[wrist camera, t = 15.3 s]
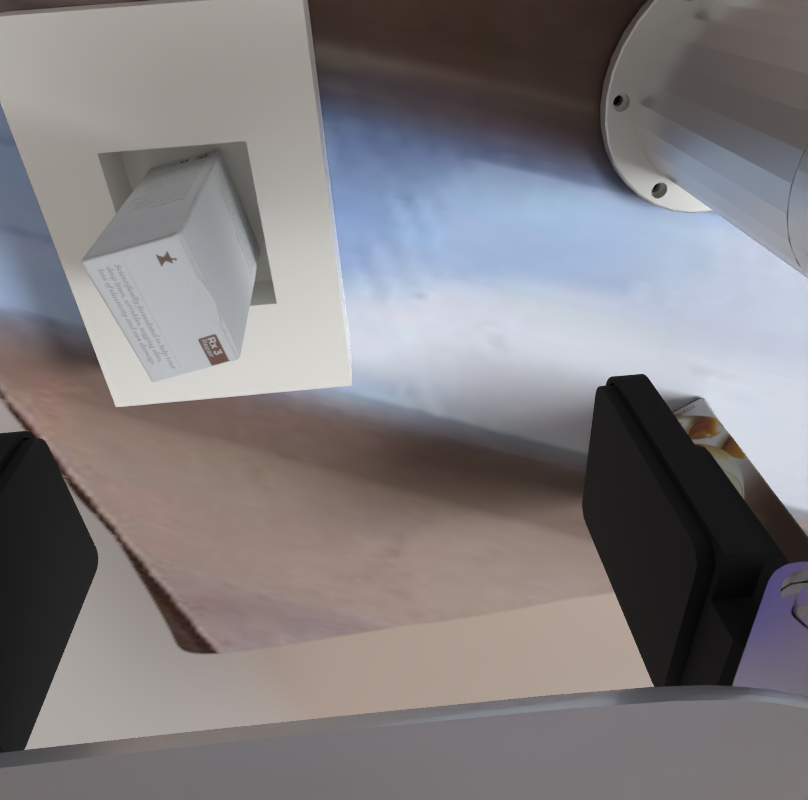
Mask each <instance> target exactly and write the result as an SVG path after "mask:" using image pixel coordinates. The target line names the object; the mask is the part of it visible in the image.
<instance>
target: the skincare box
mask: <svg viewBox="0 0 808 800" xmlns="http://www.w3.org/2000/svg"><path fill="white" fill-rule="evenodd" d="M259 255H260V247H259V245H258V242H257V240H256V237H255V235H254V232H253V230H252V227H251V225H250V222H249V220H248V217H247V215H246V212H245V210H244V207H243V205H242V202H241V200H240V197H239V195H238V192H237V190H236V187H235V185H234V182H233V180H232V177H231V175H230V172H229V170H228V167H227V165H226V162H225V159H224V157H223V155H222V153H221V151H220V150H213V151H210V152H206V153H203V154H199V155H195V156H192V157H189V158H185V159H182V160H178V161H175V162H171V163H168V164H165V165H161V166H158V167H155V168H152V169H149V171H148V172H147V173H146V175H145V176H144V177H143V179H142V180H141V181H140V183H139V184H138V185H137V186H136V188H135V189H134V191H133V192H132V193H131V195H130V196H129V197H128V198H127V200H126V201H125V202H124V204H123V205H122V207H121V208H120V209H119V211H118V212H117V213H116V215H115V216H114V217H113V218H112V220H111V221H110V222H109V224H108V225H107V226H106V228H105V229H104V231H103V232H102V233H101V235H100V236H99V237H98V239H97V240H96V242H95V243H94V244H93V245H92V247H91V248H90V249H89V250H88V252H87V253H86V254H85V256H84V257H83V259H82V261H81V264H82V265H83V267H84V269H85V270H86V272H87V274H88V275H89V277H90V279H91V280H92V282H93V284H94V285H95V287H96V288H97V290H98V292H99V293H100V295H101V297H102V298H103V300H104V302H105V303H106V305H107V307H108V308H109V310H110V312H111V313H112V315H113V317H114V318H115V320H116V322H117V323H118V325H119V327H120V328H121V330H122V332H123V333H124V335H125V337H126V338H127V340H128V342H129V343H130V345H131V347H132V348H133V350H134V352H135V354H136V355H137V357H138V359H139V360H140V362H141V364H142V365H143V367H144V369H145V370H146V372H147V374H148V375H149V377H150V379H151V381H152V382H157V381H161V380H164V379H167V378H171V377H175V376H178V375H182V374H185V373H189V372H193V371H197V370H200V369H204V368H207V367H211V366H215V365H219V364H222V363H226V362H230V361H234V360H238V359H239V358H240V355H241V349H242V344H243V339H244V334H245V328H246V323H247V318H248V312H249V307H250V302H251V297H252V292H253V287H254V281H255V276H256V270H257V266H258V260H259Z"/></svg>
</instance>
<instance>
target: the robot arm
mask: <svg viewBox="0 0 808 800" xmlns="http://www.w3.org/2000/svg"><path fill="white" fill-rule="evenodd" d="M618 95H619V96H620V100H619V102H618V103H617V104H615V105H614V104H613V102H614V99H615V98H616V97H617V96H618ZM600 116H601V132H602V137H603V141H604V146H605V150H606V153H607V155H608V157H609V159H610V161H611V163H612V166H613V168H614V170H615V171H616V172H617V174H618V175H619V176H620V177H621V179H622V180H623V181H624V183H625V184H626V185H627V186H628V187H630V188H631V189H632V190H633V191H634V192H635V193H636V194H637V195H639V196H640V197H642V198H643V199H645V200H646V201H648V202H649V203H651V204H653V205H656V206H659V207H662V208H665V209H667V210H670V211H676V212H686V213H699V212H710V211H714V212H716V213H717V214H718V215H720V216H721V217H723V218H724V219H725V220H727V221H728V222H730V223H731V224H732V225H734V226H735V227H737V228H738V229H739V230H741V231H742V232H744V233H745V234H746V235H748V236H749V237H751V238H752V239H753V240H755V241H756V242H758V243H759V244H760V245H762V246H763V247H765V248H766V249H767V250H769V251H770V252H772V253H773V254H774V255H776V256H777V257H779V258H780V259H781V260H783V261H784V262H786V263H787V264H788V265H790V266H791V267H793V268H794V269H795V270H797V271H798V272H800V273H801V274H802V275H804V276H805V277H807V278H808V0H648V1H647V2H646V3H645V4H644V5H643V6H642V7H641V8H640V9H639V11H638V12H637V14H636V15H635V17H634V18H633V19H632V21H631V22H630V24H629V25H628V27H627V28H626V30H625V31H624V33H623V35H622V37H621V39H620V41H619V43H618V45H617V47H616V49H615V51H614V53H613V55H612V57H611V60H610V64H609V67H608V70H607V73H606V76H605V80H604V84H603V91H602V98H601V105H600ZM656 184H657V187H656V188H655V189H654V190H652V189H653V187H654V186H655V185H656ZM582 508H583V515H584V519H585V522H586V525H587V527H588V530H589V532H590V534H591V537H592V539H593V542H594V544H595V546H596V549H597V551H598V554H599V556H600V558H601V561H602V563H603V566H604V568H605V570H606V573H607V575H608V578H609V580H610V582H611V585H612V587H613V590H614V592H615V594H616V597H617V599H618V602H619V604H620V606H621V609H622V611H623V613H624V616H625V618H626V621H627V623H628V625H629V628H630V630H631V633H632V635H633V637H634V640H635V642H636V645H637V647H638V649H639V652H640V654H641V657H642V659H643V661H644V664H645V666H646V669H647V671H648V673H649V676H650V678H651V681H652V683H653V684H654V687H647V688H634V689H622V690H610V691H597V692H586V693H573V694H561V695H549V696H539V697H528V698H519V699H508V700H498V701H488V702H478V703H468V704H457V705H447V706H437V707H427V708H417V709H407V710H397V711H388V712H378V713H367V714H358V715H349V716H338V717H329V718H319V719H309V720H300V721H291V722H281V723H271V724H261V725H252V726H242V727H233V728H223V729H214V730H205V731H195V732H186V733H177V734H167V735H158V736H149V737H139V738H130V739H121V740H113V741H103V742H94V743H85V744H76V745H66V746H58V747H49V748H40V749H30V750H24V749H25V747H26V745H27V742H28V740H29V737H30V735H31V732H32V730H33V727H34V725H35V722H36V719H37V717H38V714H39V712H40V710H41V707H42V705H43V702H44V700H45V697H46V695H47V692H48V690H49V687H50V685H51V682H52V680H53V677H54V675H55V672H56V670H57V668H58V665H59V662H60V660H61V657H62V655H63V652H64V650H65V648H66V645H67V643H68V640H69V637H70V635H71V633H72V630H73V628H74V625H75V622H76V620H77V617H78V615H79V613H80V610H81V608H82V605H83V603H84V600H85V598H86V595H87V593H88V590H89V587H90V585H91V583H92V580H93V578H94V575H95V573H96V570H97V566H98V553H97V549H96V547H95V545H94V542H93V540H92V538H91V536H90V534H89V532H88V530H87V528H86V525H85V523H84V521H83V519H82V517H81V515H80V513H79V511H78V508H77V506H76V504H75V502H74V500H73V498H72V496H71V494H70V491H69V489H68V487H67V485H66V483H65V481H64V479H63V477H62V475H61V472H60V470H59V468H58V466H57V464H56V462H55V460H54V458H53V455H52V453H51V451H50V449H49V447H48V445H47V443H46V442H45V441H44V440H43V439H40V438H38V439H36V437H35V436H34V435H33V434H32V433H31V432H28V431H21V432H10V433H0V800H808V562H796V563H791V564H790V562H789V561H788V560H787V558H786V557H785V555H784V554H783V553H782V551H781V550H780V549H779V547H778V546H777V544H776V543H775V542H774V540H773V539H772V537H771V536H770V535H769V533H768V532H767V531H766V529H765V528H764V526H763V525H762V524H761V522H760V521H759V520H758V518H757V517H756V515H755V514H754V513H753V511H752V510H751V508H750V507H749V506H748V504H747V503H746V502H745V500H744V499H743V497H742V496H741V495H740V493H739V492H738V490H737V489H736V488H735V486H734V485H733V484H732V482H731V481H730V479H729V478H728V477H727V475H726V474H725V472H724V471H723V470H722V468H721V467H720V466H719V464H718V463H717V461H716V460H715V459H714V457H713V456H712V455H711V453H710V452H709V451H708V450H707V449H706V448H705V447H703V446H701V445H695V444H694V442H693V441H692V440H691V438H690V437H689V435H688V434H687V433H686V431H685V430H684V428H683V427H682V425H681V424H680V423H679V421H678V420H677V418H676V417H675V415H674V414H673V413H672V411H671V410H670V408H669V407H668V406H667V404H666V403H665V401H664V400H663V398H662V397H661V396H660V394H659V393H658V391H657V390H656V389H655V387H654V386H653V384H652V383H651V381H650V380H649V379H648V377H647V376H646V375H644V374H637V375H626V376H615V377H610V378H609V379H608V381H607V383H606V386H599V387H598V388H597V391H596V396H595V404H594V412H593V420H592V428H591V436H590V444H589V452H588V460H587V468H586V476H585V484H584V492H583V501H582Z"/></svg>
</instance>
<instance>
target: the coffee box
mask: <svg viewBox="0 0 808 800" xmlns="http://www.w3.org/2000/svg"><path fill="white" fill-rule="evenodd" d="M673 414H674V415H675V417H676V418H677V420H678V421H679V423H680V424H681V425H682V427H683V428H684V430H685V431H686V433H687V434H688V435H689V437H690V438H691V440H692V441H693V442H694V444H695V445H701V446H703V447H705V448H706V449H707V450H708V451H709V452H710V453H711V455H712V456H713V457H714V459H715V460H716V461H717V463H718V464H719V466H720V467H721V468H722V470H723V471H724V472H725V474H726V475H727V477H728V478H729V479H730V481H731V482H732V484H733V485H734V486H735V488H736V489H737V490H738V492H739V493H740V495H741V496H742V497H743V499H744V500H745V502H746V503H747V504H748V506H749V507H750V508H751V510H752V511H753V513H754V514H755V515H756V517H757V518H758V520H759V521H760V522H761V524H762V525H763V526H764V528H765V529H766V531H767V532H768V533H769V535H770V536H771V537H772V539H773V540H774V542H775V543H776V544H777V546H778V547H779V549H780V550H781V551H782V553H783V554H784V555H785V557H786V558H787V560H788V561H789V562H790V564H791V563H796V562H808V536H807V535H806V534H805V532H804V531H803V530H802V528H801V527H800V526H799V524H798V523H797V522H796V520H795V519H794V518H793V517H792V515H791V514H790V513H789V511H788V510H787V509H786V508H785V506H784V505H783V504H782V502H781V501H780V500H779V498H778V497H777V496H776V495H775V493H774V492H773V491H772V489H771V488H770V487H769V485H768V484H767V483H766V481H765V480H764V479H763V477H762V476H761V475H760V473H759V472H758V471H757V469H756V468H755V467H754V465H753V464H752V463H751V461H750V460H749V459H748V457H747V456H746V455H745V453H744V452H743V451H742V449H741V448H740V447H739V445H738V444H737V443H736V442H735V440H734V439H733V438H732V436H731V435H730V434H729V433H728V431H727V430H726V429H725V428H724V426H723V425H722V424H721V422H720V421H719V420H718V418H717V417H716V415H715V414H714V412H713V410H712V409H711V407H710V406H709V404H708V403H707V401H706V400H705V399H704V398H700V399H698V400H696V401H694V402H692V403H690V404H688V405H687V406H685V407H683V408H681V409H679V410H677V411H675V412H673Z"/></svg>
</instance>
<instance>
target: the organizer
mask: <svg viewBox="0 0 808 800" xmlns="http://www.w3.org/2000/svg"><path fill="white" fill-rule="evenodd" d="M0 103H1V106H2V108H3V111H4V114H5V116H6V119H7V122H8V124H9V127H10V129H11V132H12V135H13V137H14V140H15V143H16V145H17V148H18V150H19V153H20V156H21V158H22V161H23V164H24V166H25V169H26V172H27V174H28V177H29V179H30V182H31V185H32V187H33V190H34V193H35V195H36V198H37V200H38V203H39V206H40V208H41V211H42V214H43V216H44V219H45V221H46V224H47V227H48V229H49V232H50V235H51V237H52V240H53V243H54V245H55V248H56V250H57V253H58V256H59V258H60V261H61V264H62V266H63V269H64V271H65V274H66V277H67V279H68V282H69V285H70V287H71V290H72V293H73V295H74V298H75V300H76V303H77V306H78V308H79V311H80V314H81V316H82V319H83V321H84V324H85V327H86V329H87V332H88V335H89V337H90V340H91V342H92V345H93V348H94V350H95V353H96V356H97V358H98V361H99V364H100V366H101V369H102V371H103V374H104V377H105V379H106V382H107V385H108V387H109V390H110V392H111V395H112V398H113V400H114V403H115V406H116V407H123V406H134V405H145V404H156V403H166V402H177V401H188V400H199V399H210V398H221V397H232V396H243V395H253V394H264V393H275V392H286V391H297V390H308V389H319V388H330V387H340V386H351V385H352V352H351V343H350V335H349V327H348V319H347V311H346V303H345V295H344V287H343V279H342V271H341V263H340V255H339V247H338V239H337V231H336V223H335V215H334V207H333V199H332V191H331V183H330V175H329V167H328V159H327V151H326V143H325V134H324V126H323V118H322V110H321V102H320V94H319V86H318V78H317V70H316V62H315V54H314V46H313V38H312V30H311V22H310V14H309V6H308V0H150V1H137V2H124V3H111V4H98V5H85V6H72V7H59V8H46V9H33V10H20V11H8V12H3V13H0ZM213 150H220V151H221V153H222V155H223V157H224V159H225V162H226V165H227V167H228V170H229V172H230V175H231V177H232V180H233V182H234V185H235V187H236V190H237V192H238V195H239V197H240V200H241V202H242V205H243V207H244V210H245V212H246V215H247V217H248V220H249V222H250V225H251V227H252V230H253V232H254V235H255V237H256V240H257V242H258V245H259V247H260V255H259V260H258V266H257V270H256V276H255V281H254V287H253V292H252V297H251V302H250V307H249V312H248V318H247V323H246V328H245V334H244V339H243V344H242V349H241V355H240V358H239V359H238V360H234V361H230V362H226V363H222V364H219V365H215V366H211V367H207V368H204V369H200V370H197V371H193V372H189V373H185V374H182V375H178V376H175V377H171V378H167V379H164V380H161V381H157V382H152V381H151V379H150V377H149V375H148V374H147V372H146V370H145V369H144V367H143V365H142V364H141V362H140V360H139V359H138V357H137V355H136V354H135V352H134V350H133V348H132V347H131V345H130V343H129V342H128V340H127V338H126V337H125V335H124V333H123V332H122V330H121V328H120V327H119V325H118V323H117V322H116V320H115V318H114V317H113V315H112V313H111V312H110V310H109V308H108V307H107V305H106V303H105V302H104V300H103V298H102V297H101V295H100V293H99V292H98V290H97V288H96V287H95V285H94V284H93V282H92V280H91V279H90V277H89V275H88V274H87V272H86V270H85V269H84V267H83V265H82V264H81V261H82V259H83V257H84V256H85V254H86V253H87V252H88V250H89V249H90V248H91V247H92V245H93V244H94V243H95V242H96V240H97V239H98V237H99V236H100V235H101V233H102V232H103V231H104V229H105V228H106V226H107V225H108V224H109V222H110V221H111V220H112V218H113V217H114V216H115V215H116V213H117V212H118V211H119V209H120V208H121V207H122V205H123V204H124V202H125V201H126V200H127V198H128V197H129V196H130V195H131V193H132V192H133V191H134V189H135V188H136V186H137V185H138V184H139V183H140V181H141V180H142V179H143V177H144V176H145V175H146V173H147V172H148V171H149V169H152V168H155V167H158V166H161V165H165V164H168V163H171V162H175V161H178V160H182V159H185V158H189V157H192V156H195V155H199V154H203V153H206V152H210V151H213Z"/></svg>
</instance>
